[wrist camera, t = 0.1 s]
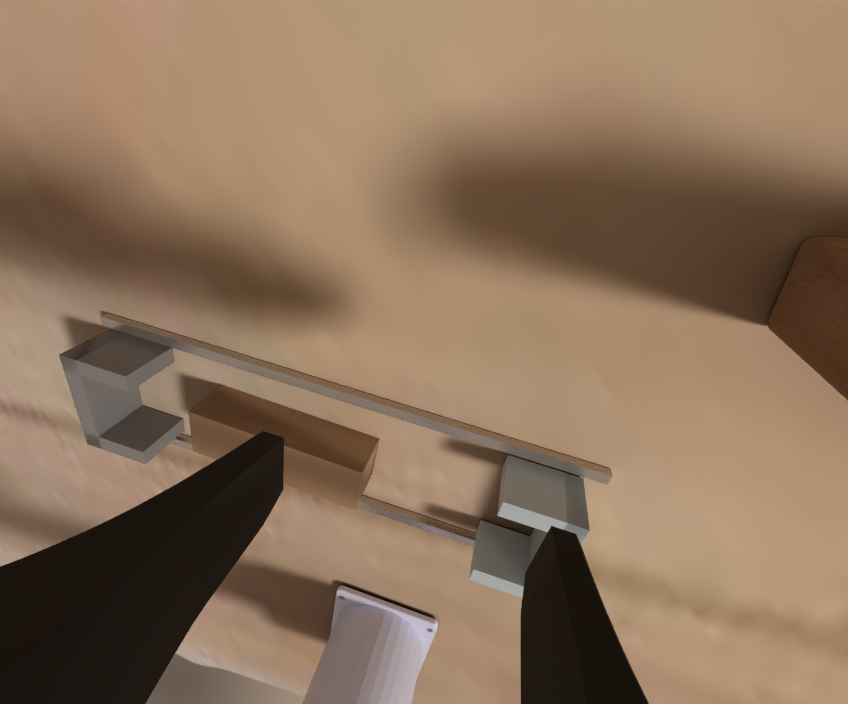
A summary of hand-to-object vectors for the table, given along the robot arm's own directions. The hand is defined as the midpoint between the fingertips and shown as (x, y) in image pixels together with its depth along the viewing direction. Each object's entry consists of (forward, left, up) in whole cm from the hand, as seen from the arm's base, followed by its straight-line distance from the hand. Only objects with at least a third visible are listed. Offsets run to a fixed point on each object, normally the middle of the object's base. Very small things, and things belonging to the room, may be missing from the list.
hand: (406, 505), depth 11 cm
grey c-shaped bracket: (-9, +18, -10) cm, 23 cm away
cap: (-9, -6, -10) cm, 15 cm away
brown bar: (-9, +8, -10) cm, 16 cm away
